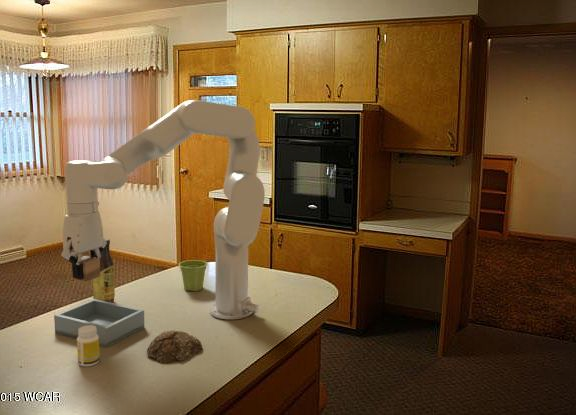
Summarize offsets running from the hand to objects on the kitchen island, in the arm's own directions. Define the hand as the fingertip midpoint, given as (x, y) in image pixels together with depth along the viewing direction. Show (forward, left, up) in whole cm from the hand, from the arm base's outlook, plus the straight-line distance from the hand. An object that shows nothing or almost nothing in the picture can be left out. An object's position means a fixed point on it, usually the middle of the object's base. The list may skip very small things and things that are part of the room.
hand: (86, 274), depth 141 cm
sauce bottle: (+10, -16, -15) cm, 25 cm away
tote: (-4, 0, -15) cm, 16 cm away
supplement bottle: (-15, +15, -15) cm, 26 cm away
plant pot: (-6, -40, -15) cm, 44 cm away
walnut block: (0, 0, -1) cm, 1 cm away
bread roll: (-28, +1, -16) cm, 32 cm away
